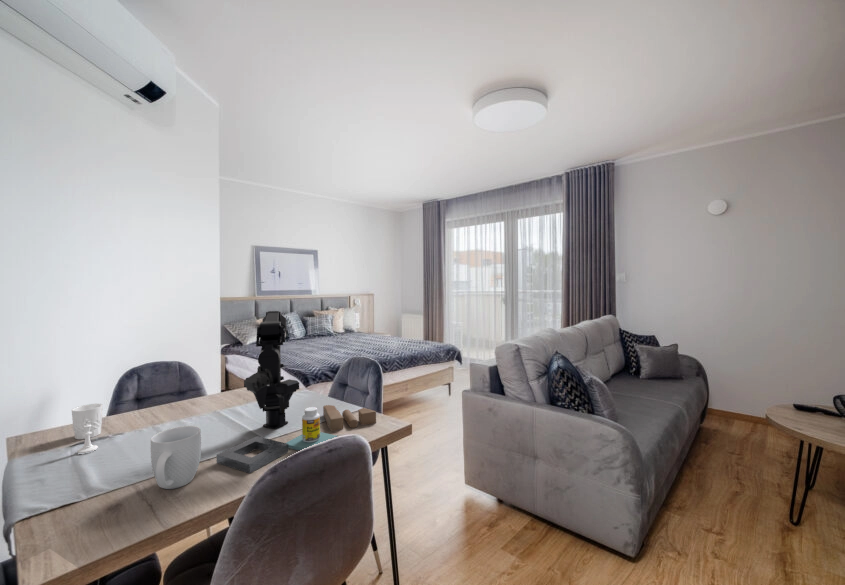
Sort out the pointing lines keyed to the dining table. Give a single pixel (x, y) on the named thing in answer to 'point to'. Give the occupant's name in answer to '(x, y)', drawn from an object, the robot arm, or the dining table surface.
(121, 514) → the dining table surface
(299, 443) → the mat
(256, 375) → the robot arm
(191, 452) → the mug
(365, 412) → the wooden block set
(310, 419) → the supplement bottle
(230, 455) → the frame
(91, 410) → the white cup
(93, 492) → the dining table surface
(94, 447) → the chess piece
